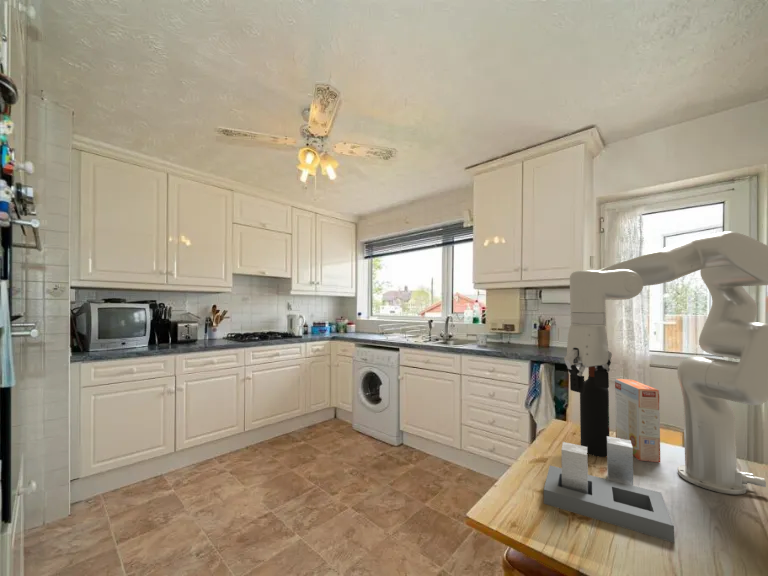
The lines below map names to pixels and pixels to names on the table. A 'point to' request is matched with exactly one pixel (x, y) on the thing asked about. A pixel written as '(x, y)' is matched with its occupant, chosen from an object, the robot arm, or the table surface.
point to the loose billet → (620, 460)
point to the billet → (575, 467)
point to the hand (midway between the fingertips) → (589, 389)
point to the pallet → (613, 504)
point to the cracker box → (638, 418)
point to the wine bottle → (594, 417)
